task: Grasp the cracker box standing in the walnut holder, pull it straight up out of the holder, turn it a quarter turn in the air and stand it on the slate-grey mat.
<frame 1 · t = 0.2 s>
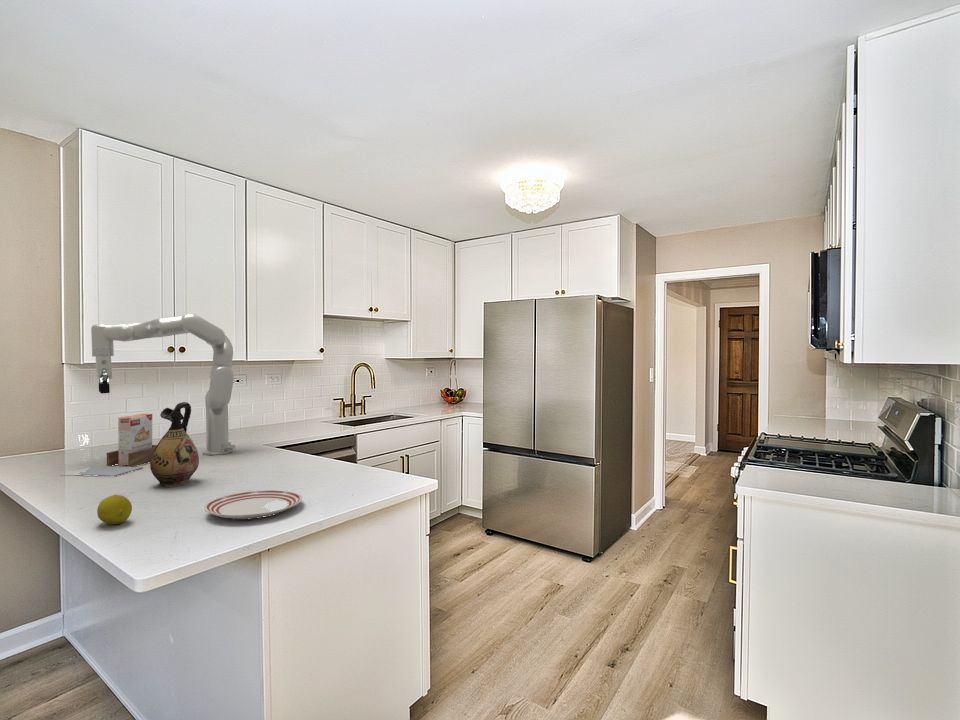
hand: (104, 392, 218), 31 cm above the countertop, tool pointing down, fingers open, 9 cm apart
lemon: (114, 523, 143), on the countertop
holder: (136, 462, 221), on the countertop
dinner plate: (254, 511, 155), on the countertop
mat: (102, 471, 204), on the countertop
ceramic jug: (177, 483, 187), on the countertop
cracker box: (136, 463, 221), resting in holder
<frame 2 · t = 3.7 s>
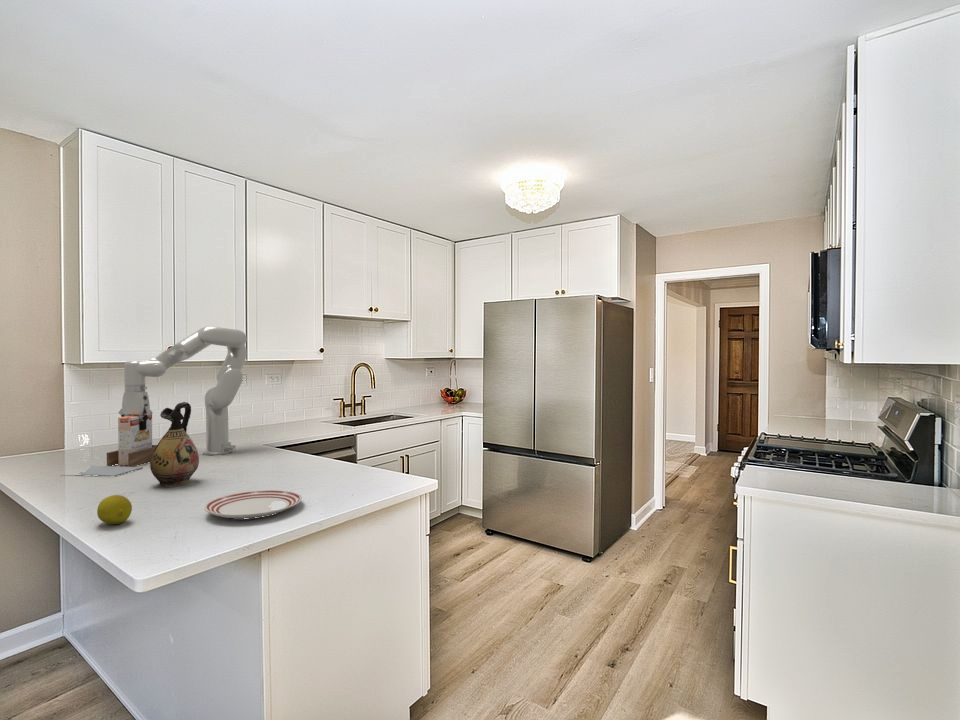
hand: (135, 429, 221), 15 cm above the countertop, tool pointing down, fingers closed on cracker box, 6 cm apart
cracker box: (136, 463, 221), resting in holder, touching gripper
everything else where it was.
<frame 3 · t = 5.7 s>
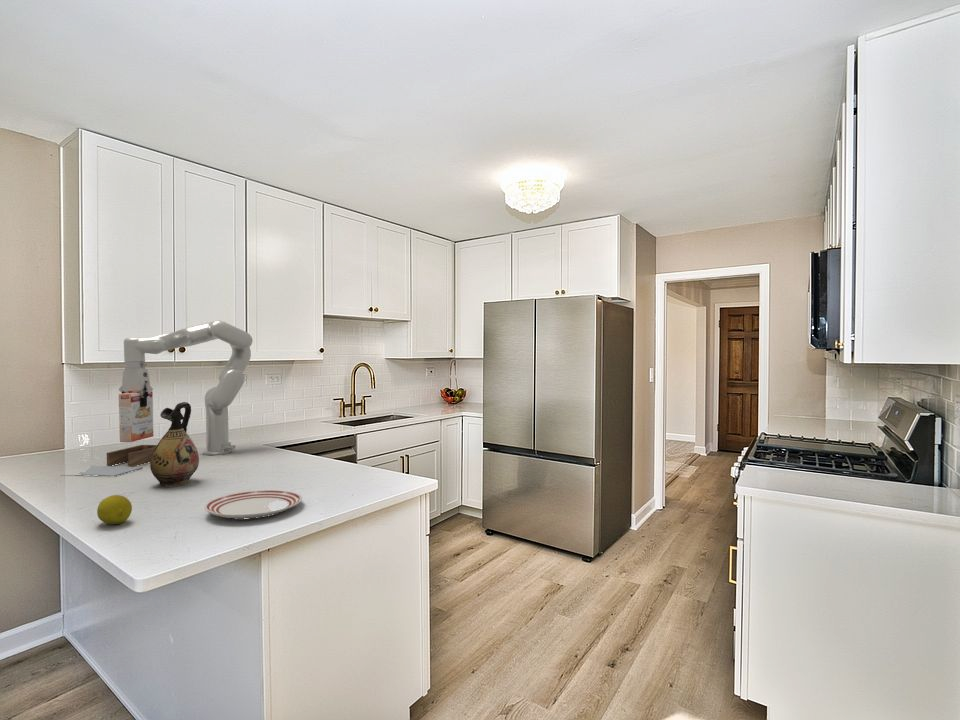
hand: (136, 406, 221), 25 cm above the countertop, tool pointing down, fingers closed on cracker box, 6 cm apart
cracker box: (137, 439, 221), point 10 cm above the countertop, touching gripper
everything else where it was.
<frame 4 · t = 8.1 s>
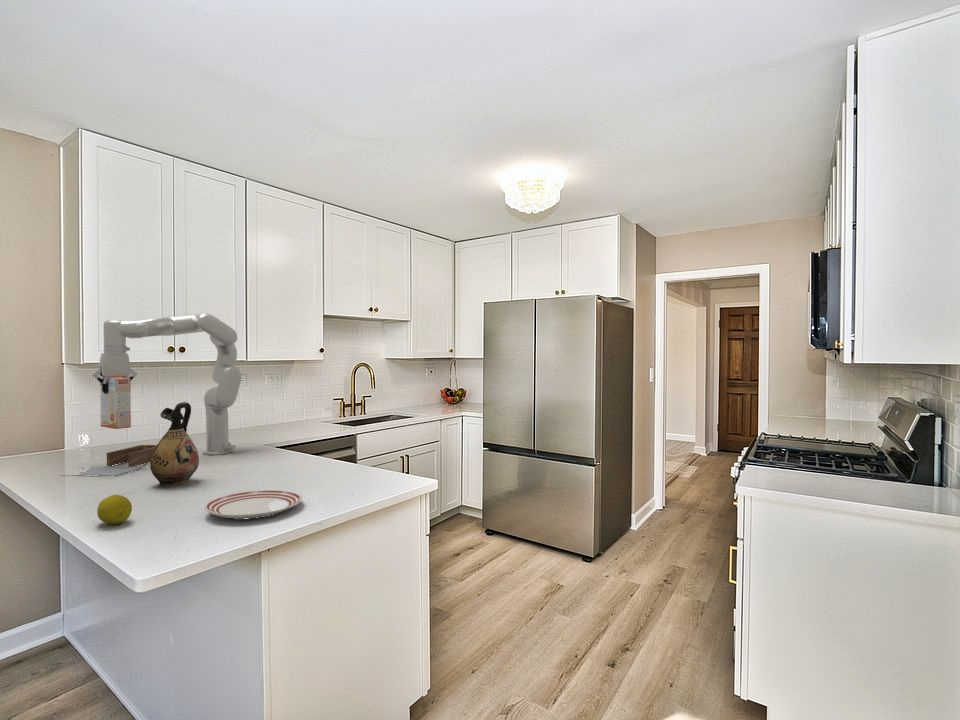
hand: (115, 392, 211), 32 cm above the countertop, tool pointing down, fingers closed on cracker box, 6 cm apart
cracker box: (116, 427, 211), point 17 cm above the countertop, touching gripper
everything else where it was.
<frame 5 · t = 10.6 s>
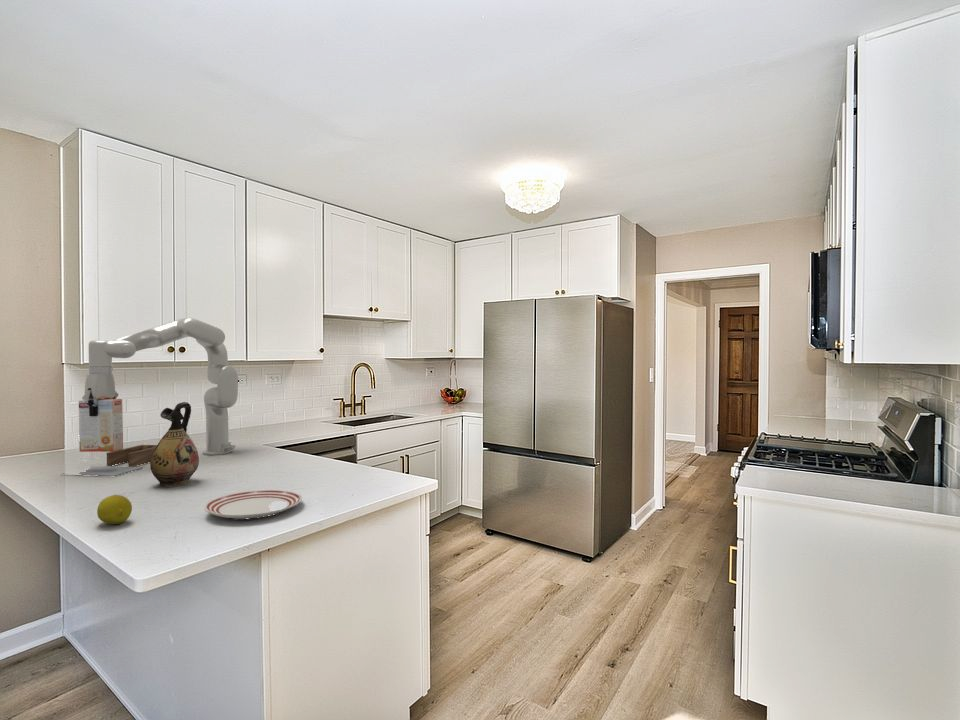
hand: (101, 414, 204), 23 cm above the countertop, tool pointing down, fingers closed on cracker box, 6 cm apart
cracker box: (101, 451, 204), point 8 cm above the countertop, touching gripper
everything else where it was.
when the fingers open (16 cm above the countertop, at t = 12.8 s): cracker box drops 1 cm, resting on mat.
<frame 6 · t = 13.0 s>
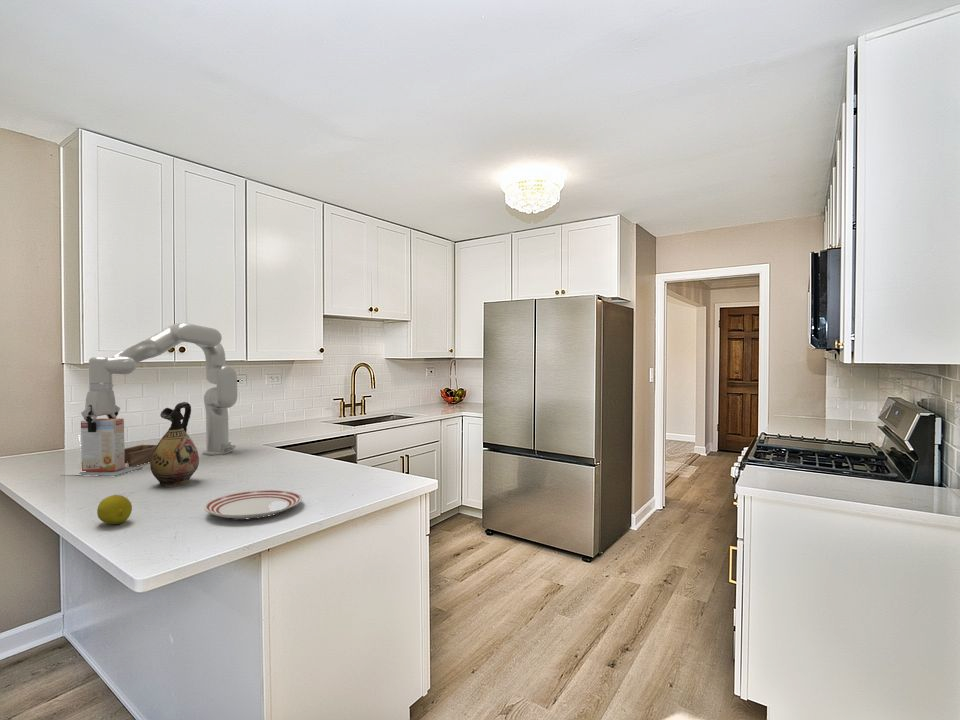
hand: (101, 430, 204), 17 cm above the countertop, tool pointing down, fingers open, 8 cm apart
cracker box: (103, 470, 205), resting on mat
everything else where it was.
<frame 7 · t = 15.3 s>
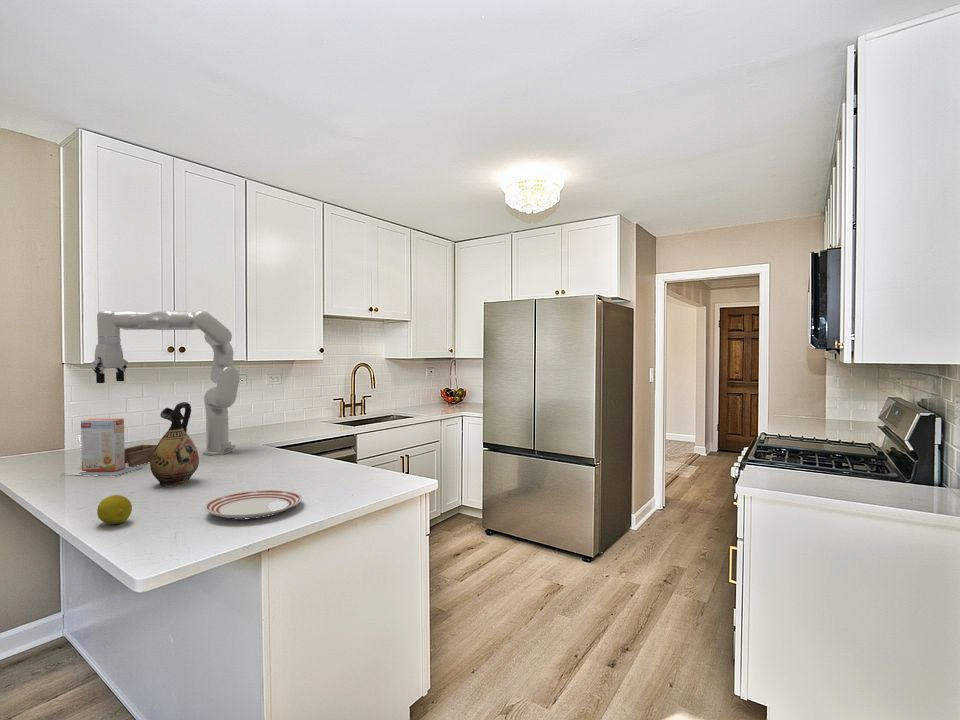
hand: (110, 382, 210), 36 cm above the countertop, tool pointing down, fingers open, 9 cm apart
nothing on the countertop moved.
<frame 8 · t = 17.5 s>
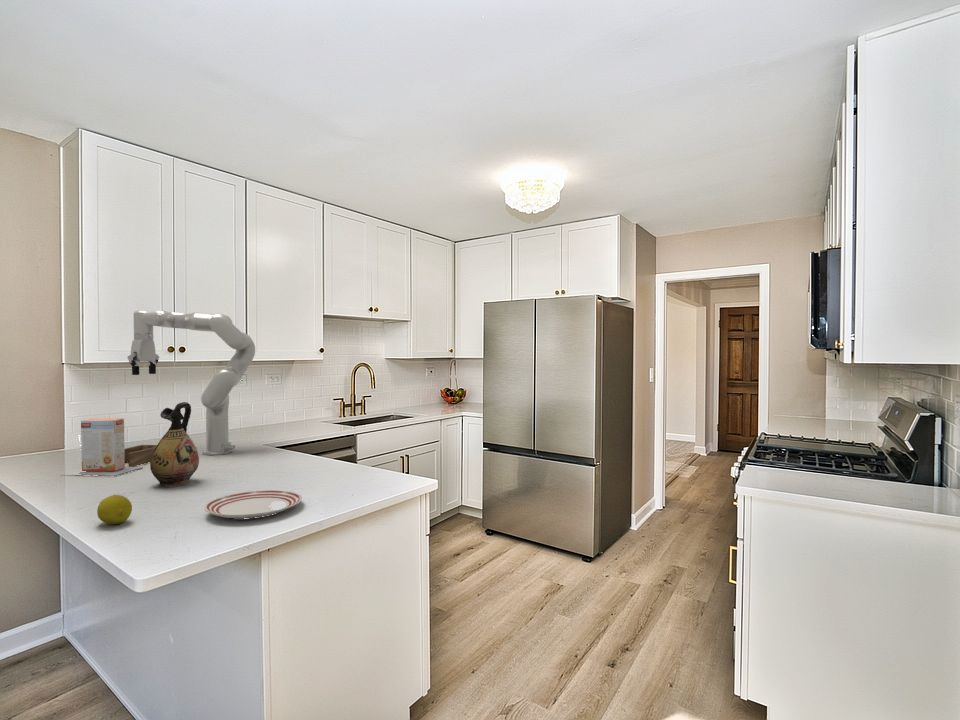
hand: (144, 374, 233), 38 cm above the countertop, tool pointing down, fingers open, 9 cm apart
nothing on the countertop moved.
at the end: cracker box inside the target area on the mat (0.4 cm from its centre), point 0.4 cm above the mat's base; cracker box tilted 0°; the gripper is holding nothing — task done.
